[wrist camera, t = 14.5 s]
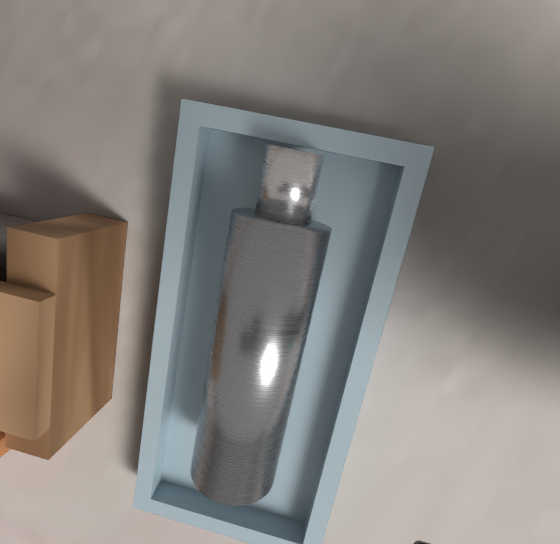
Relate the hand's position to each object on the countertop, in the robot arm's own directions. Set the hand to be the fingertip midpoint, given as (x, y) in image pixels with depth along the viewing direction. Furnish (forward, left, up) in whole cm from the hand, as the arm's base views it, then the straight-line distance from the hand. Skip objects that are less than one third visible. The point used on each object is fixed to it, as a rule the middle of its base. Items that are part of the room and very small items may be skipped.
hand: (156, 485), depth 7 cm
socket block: (+11, +3, -11) cm, 16 cm away
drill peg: (0, +1, -11) cm, 11 cm away
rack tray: (0, +2, -11) cm, 11 cm away
